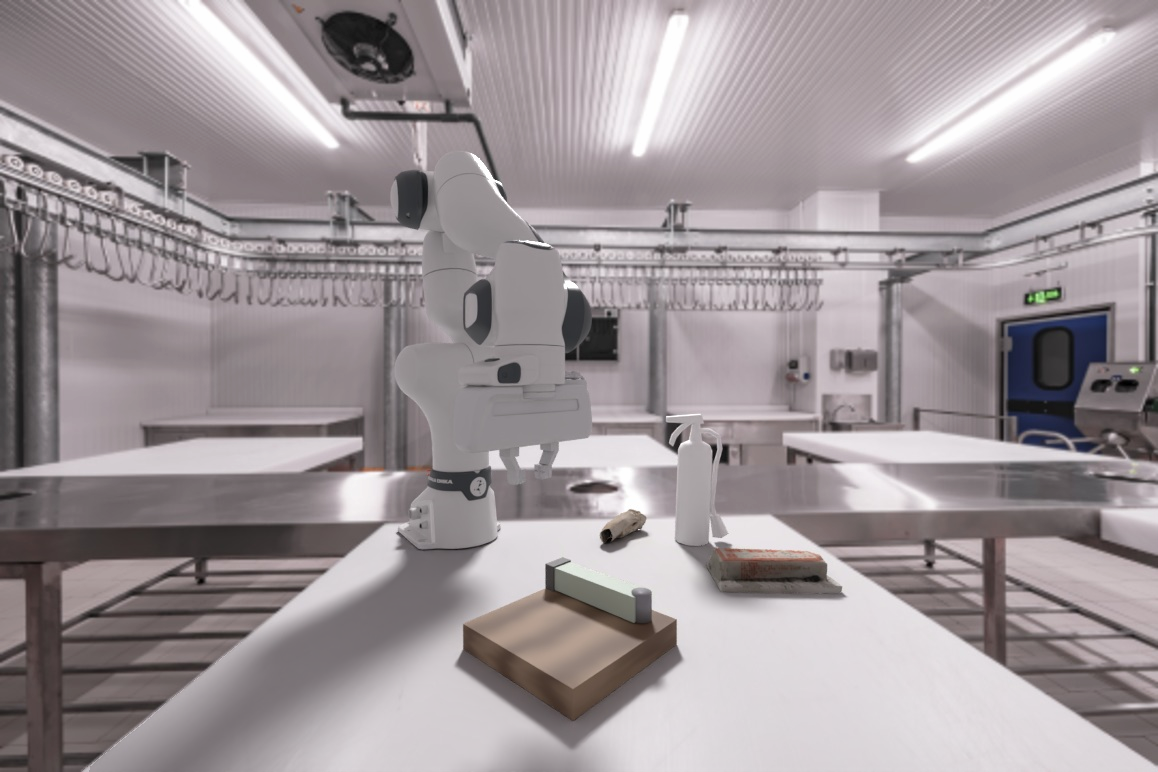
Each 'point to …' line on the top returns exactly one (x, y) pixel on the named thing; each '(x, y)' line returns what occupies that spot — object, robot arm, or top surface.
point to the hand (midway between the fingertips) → (530, 480)
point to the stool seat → (566, 648)
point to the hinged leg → (599, 590)
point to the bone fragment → (623, 525)
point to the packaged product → (770, 571)
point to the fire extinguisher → (696, 484)
